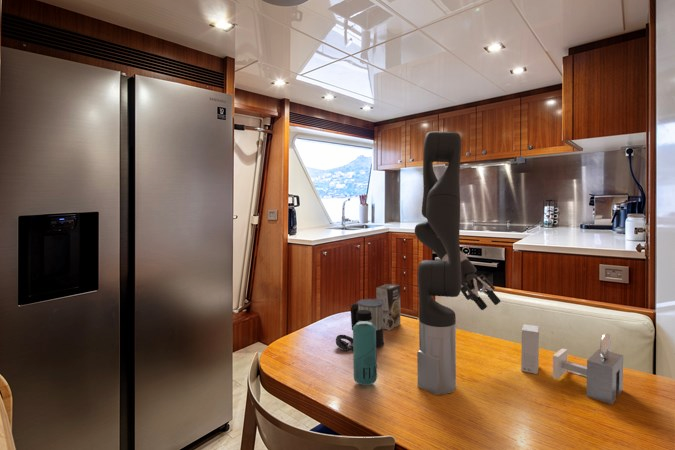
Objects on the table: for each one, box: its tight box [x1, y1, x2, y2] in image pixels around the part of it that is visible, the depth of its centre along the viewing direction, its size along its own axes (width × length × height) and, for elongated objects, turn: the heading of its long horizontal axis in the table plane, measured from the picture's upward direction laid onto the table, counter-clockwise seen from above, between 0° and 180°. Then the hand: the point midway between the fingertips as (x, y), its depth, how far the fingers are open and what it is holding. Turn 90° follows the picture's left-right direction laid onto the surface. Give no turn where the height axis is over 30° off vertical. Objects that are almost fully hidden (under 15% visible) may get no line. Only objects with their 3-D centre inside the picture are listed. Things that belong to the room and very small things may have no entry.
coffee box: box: [375, 283, 401, 331], centre depth 137 cm, size 9×6×16 cm
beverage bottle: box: [352, 310, 378, 386], centre depth 92 cm, size 6×7×20 cm
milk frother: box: [335, 298, 385, 352], centre depth 118 cm, size 14×16×15 cm
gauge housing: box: [566, 332, 624, 405], centre depth 90 cm, size 13×15×15 cm
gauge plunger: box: [552, 348, 587, 380], centre depth 91 cm, size 11×11×6 cm
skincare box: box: [520, 323, 540, 375], centre depth 99 cm, size 6×4×12 cm
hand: (491, 305), depth 107 cm, fingers open, 8 cm apart
